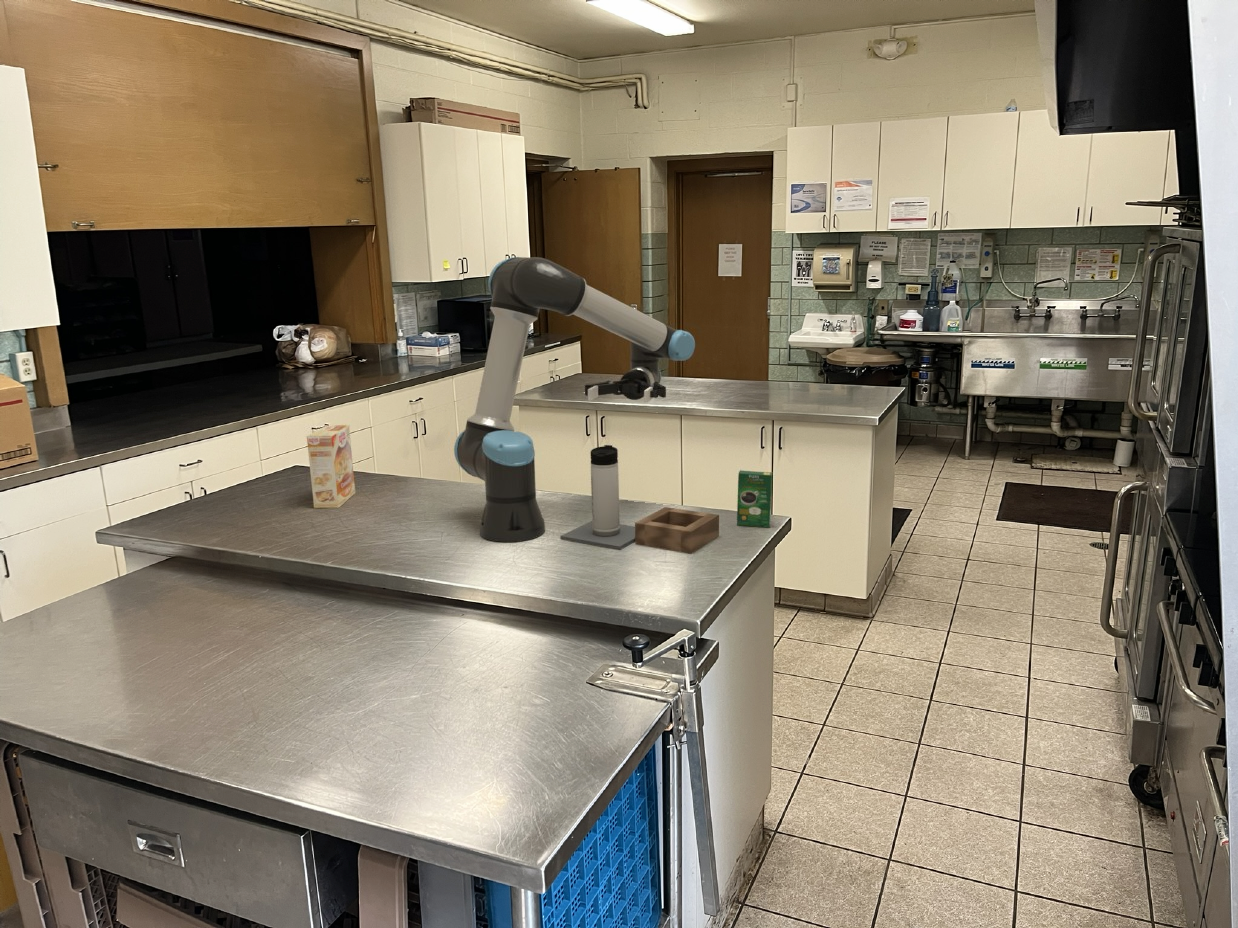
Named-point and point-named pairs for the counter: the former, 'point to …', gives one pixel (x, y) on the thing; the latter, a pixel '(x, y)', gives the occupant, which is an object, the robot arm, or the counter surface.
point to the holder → (677, 530)
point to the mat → (588, 537)
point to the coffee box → (754, 498)
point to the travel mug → (605, 491)
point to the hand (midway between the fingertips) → (617, 395)
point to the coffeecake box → (331, 466)
